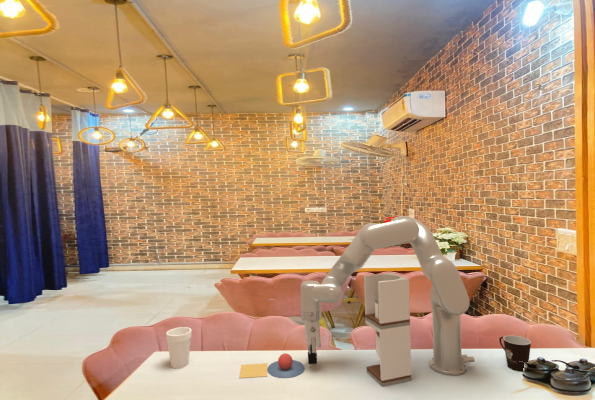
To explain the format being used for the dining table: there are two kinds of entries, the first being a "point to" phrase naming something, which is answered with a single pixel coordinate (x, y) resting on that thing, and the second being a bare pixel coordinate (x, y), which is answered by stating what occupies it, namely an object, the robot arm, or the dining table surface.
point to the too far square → (253, 370)
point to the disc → (293, 371)
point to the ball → (285, 361)
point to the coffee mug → (516, 351)
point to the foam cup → (179, 346)
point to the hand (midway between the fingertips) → (312, 362)
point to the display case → (389, 326)
